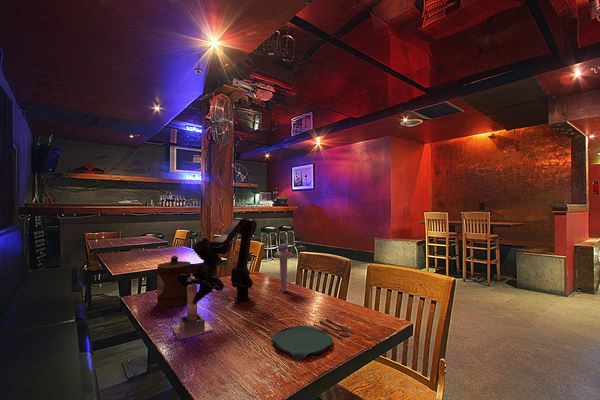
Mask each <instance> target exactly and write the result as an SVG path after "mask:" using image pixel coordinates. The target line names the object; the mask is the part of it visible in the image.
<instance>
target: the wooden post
mask: <svg viewBox="0 0 600 400" xmlns="http://www.w3.org/2000/svg"><path fill="white" fill-rule="evenodd" d="M197 292H198V284H195V285H188V286H187V304H186V316H187V321H195V320H197V314H198V302H197V303H196V304H193V301H194V298H195V296H196V294H197Z"/></svg>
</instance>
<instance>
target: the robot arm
mask: <svg viewBox="0 0 600 400" xmlns="http://www.w3.org/2000/svg"><path fill="white" fill-rule="evenodd" d="M257 226H258V224H257V221H256V220H255V219H254V218H253V219H247V218H243V217H235V218H233V219H232V222H231V223H230V225H229V226H227V228H226V229H225V230H224V231H223V232H222V234H221V235H218V236H217V237H215V238H214V239H213V240H211V242H210V241H209V238H202V239H201V240H199V241H198V242H196V243H195V244H194V245H193V252H195V254H196V255H197V256H198V258H199V259H200V260H202V262H201V264H194V263H193V264H192V263H191V264H189V266H188V269H187V273H191V277H190V276H189V275H187V274H180V275H179V276H178V278H177V280H178V281H179V282H180V283H181V284H182V285H183V286H184V287H186V295H185V303H187V286H188V285H199V289H197V294H196V296H195V298H194V301H193V304H196V303H197V304H198V302H200V301H201V300H202V299H203V298H205V297H206V296H207V295H208V294H211V293H213V292H214V290H215V291H216V292H223V290H224V288H225V285H224V282H223V281H222V280H221V279H220V278H219V277H217V278H215V277H212V275H215V274H216V273H215V272H214V271H215V269H216V267H218V265H219V264H223V259H222V256H220V255H226V254H227V253H228V252H229V250H230V248H231V242H232V240H233V239H234V238H235V236H237V235H238V233H239V234H240V242H239V243H240V244H239V249H238V257H237V266H236V267H235V269H232V268H231V270H232V274H231V273H230V274H231V275H230V281H231V286H232V288H236V296H235V297H233V299H234V300H235V301H237V302H238V303H241V302H245V301H246V302H247V301H251V300H252V298H251V297H250V296H249V289H251V288H252V287H253V284H254V283H253V282H254V281H253V279H252V278H251V277H250V270H249V268H248V262H249V255H250V250H251V249H250V248H251V242H252V238H253V236H254V234H256V232H257V231H256V230H257V228H258V227H257ZM213 289H214V290H213Z"/></svg>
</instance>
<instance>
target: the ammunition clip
mask: <svg viewBox="0 0 600 400" xmlns="http://www.w3.org/2000/svg"><path fill="white" fill-rule="evenodd" d="M237 262H238V259H234V258H233V259H232V263H231V273H230V274H232V269H235V267H236V266H237Z"/></svg>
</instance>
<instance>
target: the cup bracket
mask: <svg viewBox="0 0 600 400" xmlns="http://www.w3.org/2000/svg"><path fill="white" fill-rule="evenodd" d="M171 327H172V328H171V330H172V331H173V333H174V332H175V333H174V335H175V334H176V335H175V336H176V338H177V337H178V338H177V340H178V339H181V340H184V339H183V338H185V339H187V338H186V337H189V338H191V337H190V336H192V337H196V336H199V334H200V335H203V334H202V333H204V334H206V332H208V333H211V332H213V331H214V328H213V327H212V326H211V325H210V324H209V322H208V321H207V320H206V319H205V318H204V317H203V316H202V315H201V314H200V313H197V320H195V321H187V315H185V316H181V317H179V323H177V324H173V325H172V324H171ZM210 331H211V332H210ZM195 335H196V336H195Z"/></svg>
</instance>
